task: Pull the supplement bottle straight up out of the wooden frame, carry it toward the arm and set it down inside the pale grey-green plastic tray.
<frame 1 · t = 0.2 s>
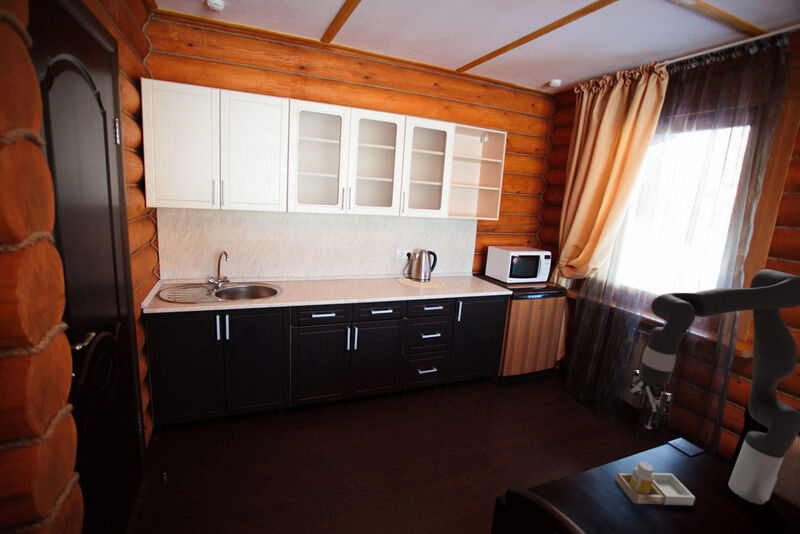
hand: (643, 413, 112), 27 cm above the table, tool pointing down, fingers open, 8 cm apart
supplement bottle: (637, 491, 118), resting in wooden frame
tray: (666, 492, 119), on the table
wooden frame: (638, 491, 118), on the table
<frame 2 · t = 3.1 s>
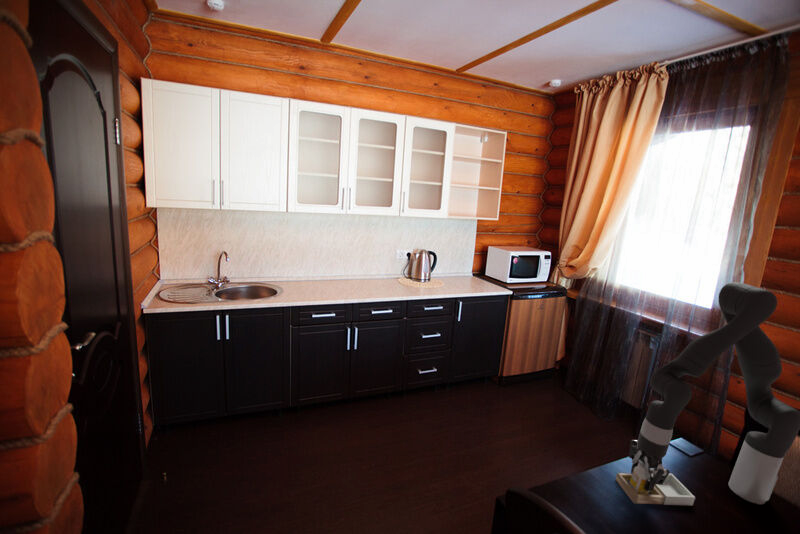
hand: (640, 482, 118), 3 cm above the table, tool pointing down, fingers closed on supplement bottle, 5 cm apart
supplement bottle: (637, 491, 118), resting in wooden frame, touching gripper
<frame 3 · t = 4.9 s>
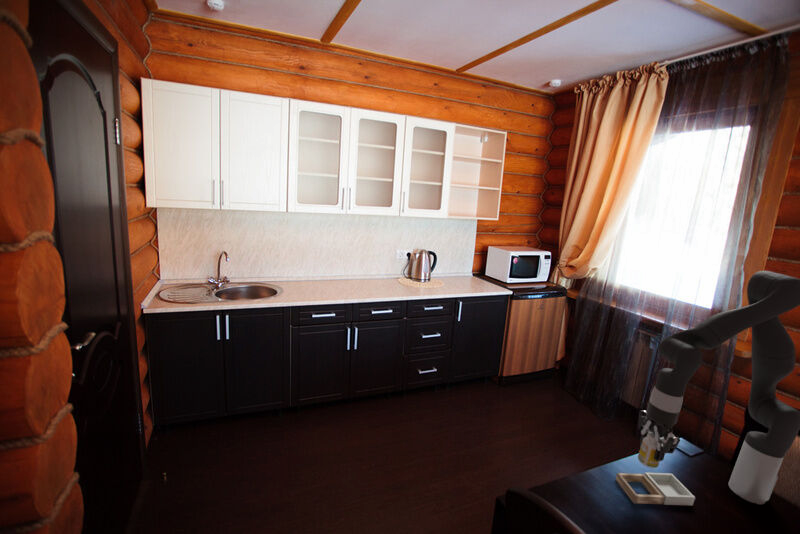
hand: (650, 452, 115), 14 cm above the table, tool pointing down, fingers closed on supplement bottle, 5 cm apart
supplement bottle: (647, 463, 116), point 11 cm above the table, touching gripper
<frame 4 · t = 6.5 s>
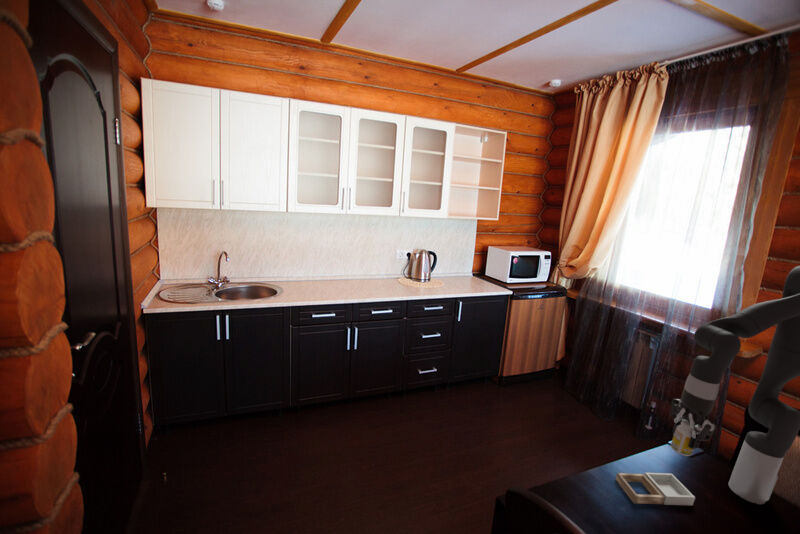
hand: (684, 440, 115), 19 cm above the table, tool pointing down, fingers closed on supplement bottle, 5 cm apart
supplement bottle: (680, 451, 116), point 15 cm above the table, touching gripper
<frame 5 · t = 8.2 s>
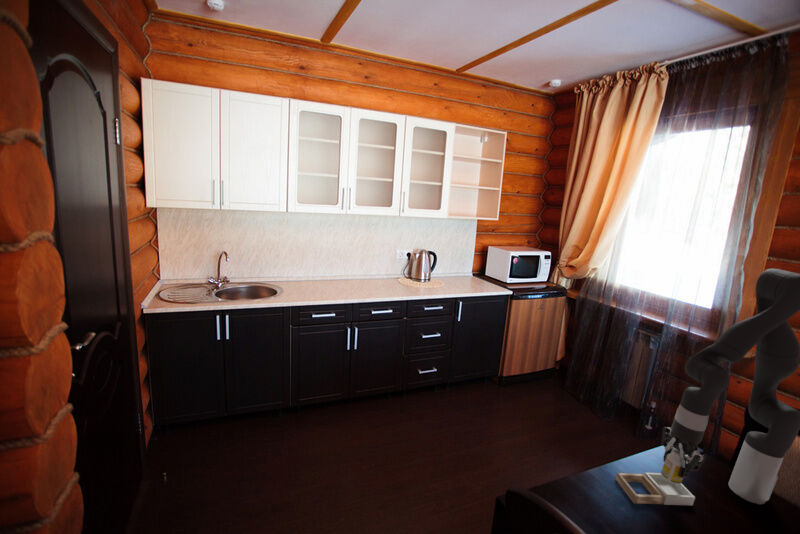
hand: (674, 469, 117), 9 cm above the table, tool pointing down, fingers closed on supplement bottle, 5 cm apart
supplement bottle: (670, 479, 118), point 5 cm above the table, touching gripper
when the fingers open (5 cm above the table, at t = 9.8 s): supplement bottle drops 1 cm, resting on tray.
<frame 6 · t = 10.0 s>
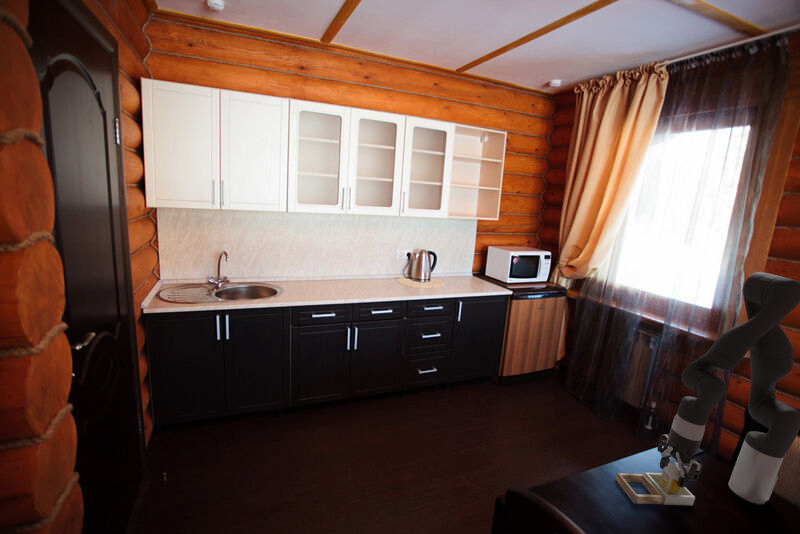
hand: (671, 477, 118), 6 cm above the table, tool pointing down, fingers open, 6 cm apart
supplement bottle: (667, 491, 119), resting on tray
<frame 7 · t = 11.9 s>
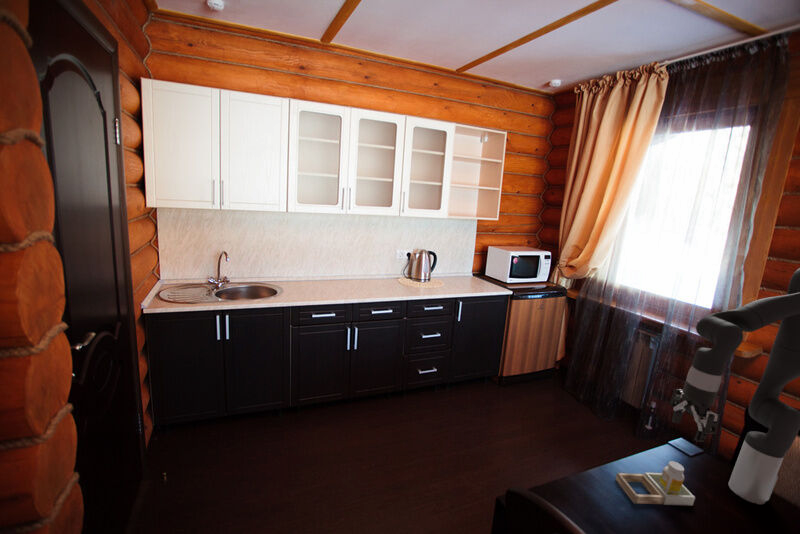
hand: (686, 431, 114), 22 cm above the table, tool pointing down, fingers open, 8 cm apart
nothing on the table moved.
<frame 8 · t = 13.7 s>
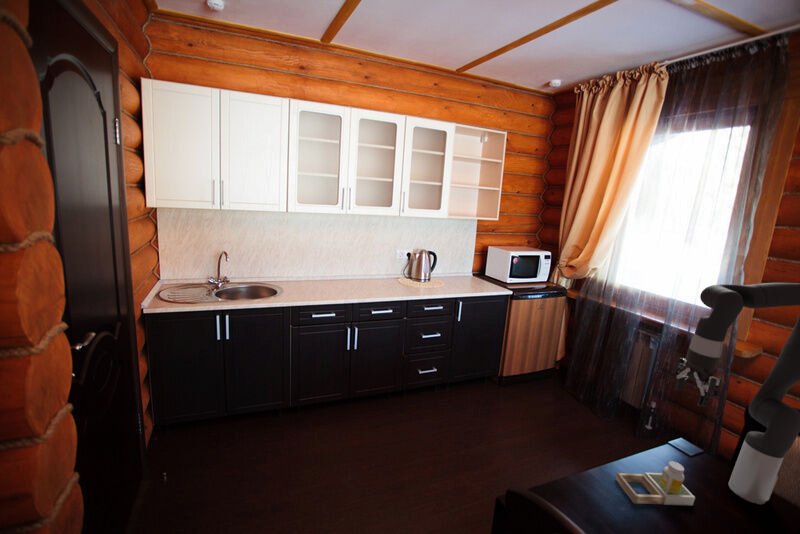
hand: (689, 397, 118), 30 cm above the table, tool pointing down, fingers open, 8 cm apart
nothing on the table moved.
at the end: supplement bottle 0.2 cm off-centre on the tray, point 0.4 cm above the tray's base; supplement bottle tilted 0°; the gripper is holding nothing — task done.
